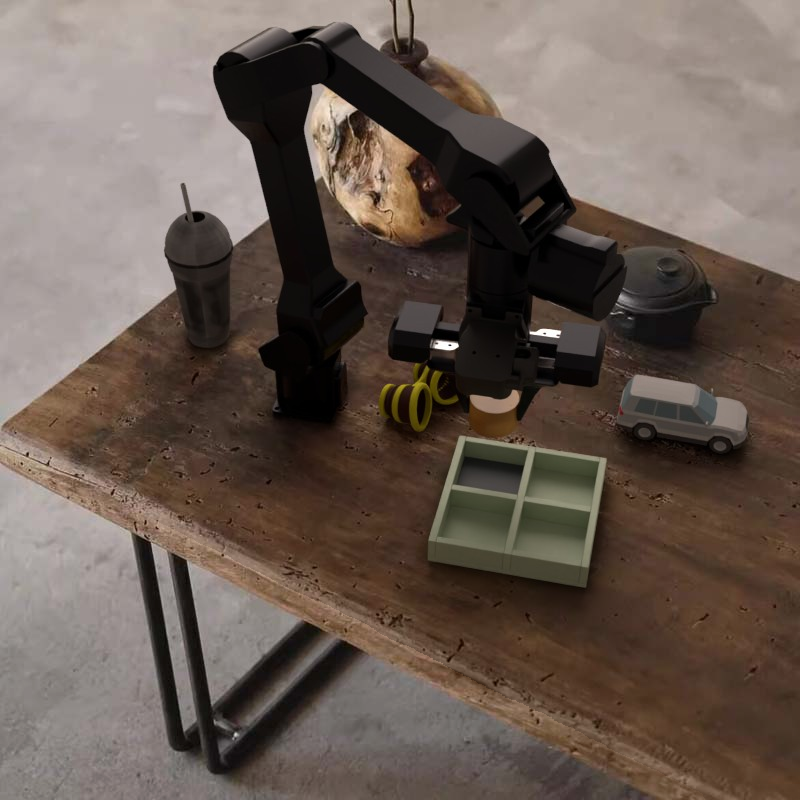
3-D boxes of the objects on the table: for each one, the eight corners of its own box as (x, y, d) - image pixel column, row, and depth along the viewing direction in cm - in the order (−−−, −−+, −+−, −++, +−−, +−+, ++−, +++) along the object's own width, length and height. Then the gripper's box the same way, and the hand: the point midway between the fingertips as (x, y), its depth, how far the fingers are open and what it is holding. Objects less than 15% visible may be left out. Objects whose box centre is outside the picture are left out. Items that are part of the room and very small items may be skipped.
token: (464, 434, 122) (465, 409, 120) (473, 402, 125) (474, 378, 123) (513, 441, 121) (515, 416, 119) (521, 409, 124) (523, 385, 122)
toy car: (742, 460, 130) (751, 422, 127) (613, 437, 133) (618, 399, 130) (747, 423, 135) (755, 385, 131) (622, 401, 137) (627, 364, 134)
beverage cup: (255, 329, 147) (241, 172, 134) (214, 363, 142) (195, 205, 129) (204, 308, 150) (185, 153, 137) (162, 341, 145) (138, 184, 132)
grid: (427, 560, 120) (427, 540, 119) (458, 455, 131) (459, 435, 129) (585, 588, 118) (588, 567, 116) (604, 478, 129) (607, 458, 127)
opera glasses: (436, 381, 141) (429, 341, 138) (475, 393, 138) (469, 353, 135) (378, 428, 135) (370, 388, 133) (418, 442, 132) (410, 401, 130)
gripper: (371, 317, 108) (374, 457, 118) (600, 348, 104) (583, 489, 115) (401, 243, 116) (402, 379, 126) (614, 269, 113) (597, 407, 123)
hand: (493, 414), depth 122 cm, fingers closed on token, 4 cm apart
